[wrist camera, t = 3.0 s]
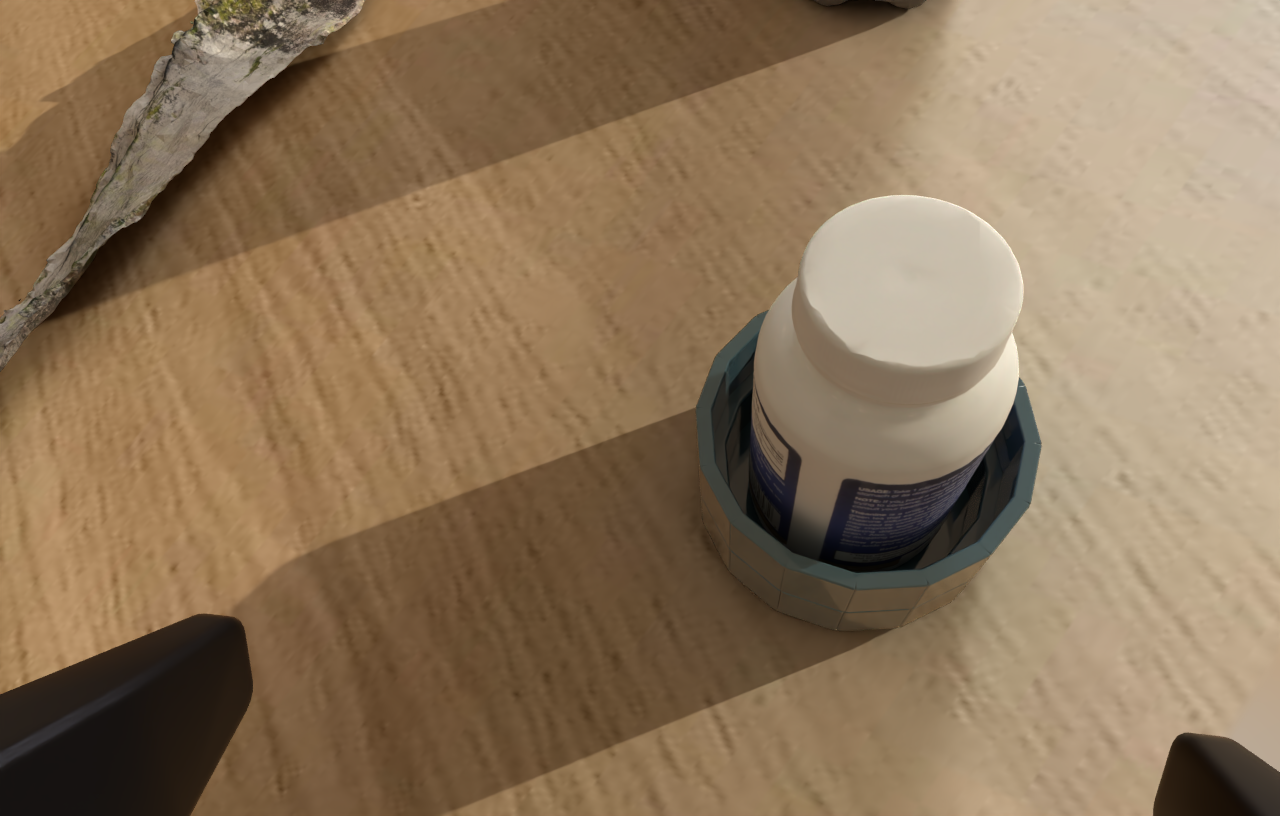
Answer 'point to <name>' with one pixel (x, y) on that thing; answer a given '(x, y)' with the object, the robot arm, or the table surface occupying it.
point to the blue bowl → (825, 588)
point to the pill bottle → (882, 380)
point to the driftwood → (177, 126)
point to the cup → (898, 0)
